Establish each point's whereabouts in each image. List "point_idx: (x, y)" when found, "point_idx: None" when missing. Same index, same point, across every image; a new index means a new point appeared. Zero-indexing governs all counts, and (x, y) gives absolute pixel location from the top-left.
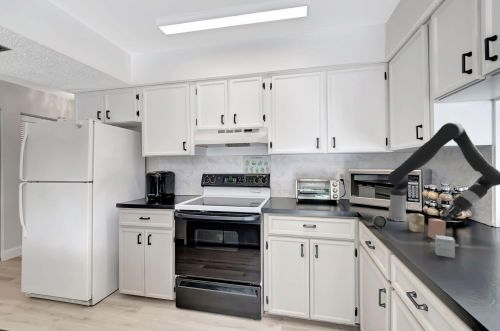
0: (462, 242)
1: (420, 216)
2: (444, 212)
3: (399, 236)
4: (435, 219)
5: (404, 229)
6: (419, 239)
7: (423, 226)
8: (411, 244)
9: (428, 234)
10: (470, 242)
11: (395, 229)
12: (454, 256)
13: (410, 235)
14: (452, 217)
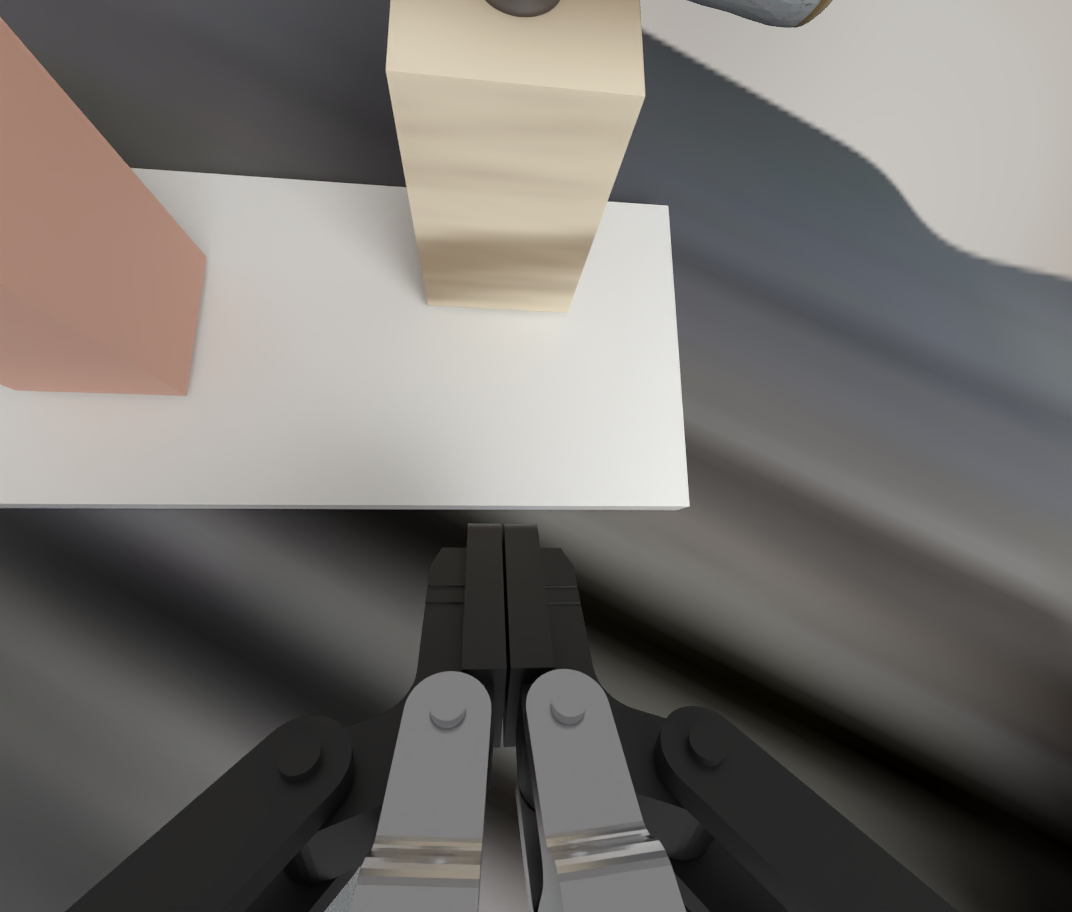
0: (106, 696)
1: (395, 21)
2: (734, 848)
3: (313, 13)
4: None
5: (686, 222)
6: (204, 169)
7: (419, 247)
8: None
9: (187, 239)
10: (116, 841)
11: (651, 115)
12: None
13: (384, 154)
14: (284, 883)
